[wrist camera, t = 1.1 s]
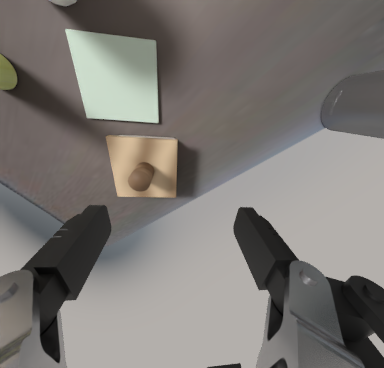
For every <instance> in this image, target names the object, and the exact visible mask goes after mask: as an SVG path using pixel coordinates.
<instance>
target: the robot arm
mask: <svg viewBox="0 0 384 368" xmlns="http://www.w3.org/2000/svg"><path fill="white" fill-rule="evenodd" d="M321 120H322V123H323V125H324V127H326V128H327V129H329V130H333V131H340V132H346V133H353V134H358V135H364V136H371V137H377V138H384V70H381V71H375V72H370V73H364V74H359V75H353V76H351V77H348V78H346V79H345V80H343V81H341V82H340V83H339V84H338V85H336V87H335V88H334V89H333V90H332V91H331V92H330V94H329V95H328V96H327V98H326V100H325V102H324V105H323V107H322V112H321ZM110 233H111V223H110V219H109V215H108V211H107V207H106V206H105V205H89V206H88V207H87V208H86V209H85V210H84V211H83V212H82V213H81V214H78V215H76V216H74V217H73V218H71V219H70V220H68V221H67V222H66V223H65V224H64V225H63V226H62V227H61V228H60V230H59V231H57V232H56V233H55V234H54V235H53V238H50V240H49V241H48V242H47V243H46V244H45V245H44V246H43V247H42V248H41V249H40V250H39V251H38V252H37V253H36V254H35V255H34V256H33V257H32V258H31V259H30V260H29V261H28V262H27V263H26V265H25V266H24V267H23V268H22V269H21V270H18V271H14V272H10V273H8V274H5V275H3V276H1V277H0V368H67V366H66V361H65V351H64V341H63V332H62V322H61V313H60V310H59V309H60V308H61V306H62V304H63V302H64V301H66V300H76V299H77V297H78V295H79V293H80V291H81V289H82V287H83V285H84V284H85V282H86V280H87V278H88V276H89V274H90V272H91V270H92V268H93V266H94V264H95V262H96V261H97V259H98V257H99V255H100V253H101V251H102V249H103V247H104V245H105V244H106V242H107V240H108V238H109V236H110ZM234 235H235V237H236V239H237V241H238V244H239V246H240V248H241V250H242V253H243V255H244V257H245V260H246V262H247V264H248V266H249V269H250V271H251V273H252V275H253V278H254V280H255V282H256V284H257V287H258V289H259V290H268V291H269V293H270V296H269V299H268V306H267V314H266V322H265V330H264V338H263V344H262V347H261V350H260V353H259V356H258V360H257V365H256V368H384V357H383V356H382V355H381V353H380V352H379V351H378V350H377V348H376V347H375V346H374V345H373V343H372V342H371V341H370V340H369V338H368V336H370V335H372V334H373V333H376V334H377V336H378V337H379V338H380V339H381V340H382V341H383V343H384V289H383V288H382V287H380V286H379V285H377V284H376V283H374V282H372V281H370V280H368V279H366V278H364V277H361V276H351V277H350V278H349V279H348V280H347V281H346V282H343V281H339V280H336V279H332V278H328V277H325V276H324V275H323V274H322V273H321V272H320V271H319V270H318V269H317V268H315V267H314V266H312V265H310V264H308V263H306V262H303V261H299V259H298V258H297V257H296V256H295V255H294V253H293V252H292V251H291V250H290V248H289V247H288V246H287V244H286V243H285V242H284V241H283V239H282V238H281V237H280V236H279V235H278V233H277V232H276V230H274V228H273V227H272V225H271V224H270V223H269V222H268V221H267V220H266V219H265V218H263V217H262V216H259V215H258V214H257V213H256V211H255V210H254V209H253V208H250V207H249V208H247V207H246V208H245V207H240V208H239V209H238V213H237V216H236V220H235V223H234ZM208 368H241V364H240V363H239V364H230V365H222V366H214V367H208Z"/></svg>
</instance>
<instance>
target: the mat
mask: <svg viewBox="0 0 384 368" xmlns="http://www.w3.org/2000/svg"><path fill="white" fill-rule="evenodd" d="M65 30H66V34H67V38H68V42H69V47H70V51H71V55H72V59H73V63H74V67H75V71H76V75H77V79H78V83H79V87H80V91H81V95H82V100H83V104H84V108H85V112H86V116H87V118H94V119H109V120H123V121H137V122H151V123H159V111H158V79H157V48H156V40H148V39H140V38H133V37H125V36H117V35H109V34H102V33H94V32H86V31H78V30H70V29H65Z"/></svg>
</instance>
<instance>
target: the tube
mask: <svg viewBox="0 0 384 368" xmlns="http://www.w3.org/2000/svg"><path fill="white" fill-rule="evenodd" d="M16 84H17V75H16V72H15V70H14V68H13V66H12V65H11V63H10V62H9V61H8V60H7V59H6V58H5V57H4V56H2V55H1V54H0V89H1V90H10V89H13V88H14V87H15V86H16Z"/></svg>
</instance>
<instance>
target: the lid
mask: <svg viewBox="0 0 384 368" xmlns="http://www.w3.org/2000/svg"><path fill="white" fill-rule="evenodd" d="M106 141H107V146H108V151H109V156H110V160H111V165H112V170H113V175H114V180H115V185H116V190H117V195H118V196H120V197H174V198H176V180H177V141H178V139H162V138H145V137H128V136H112V135H108V136H106Z"/></svg>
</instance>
